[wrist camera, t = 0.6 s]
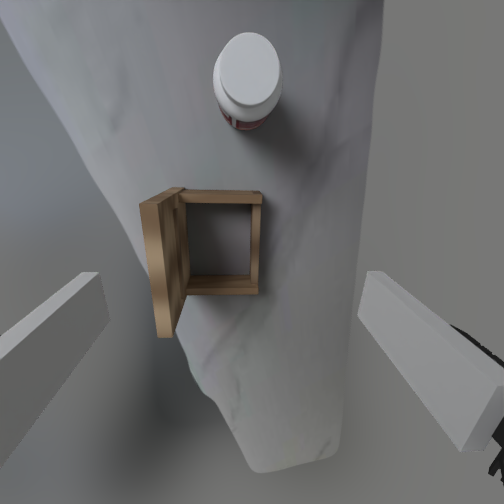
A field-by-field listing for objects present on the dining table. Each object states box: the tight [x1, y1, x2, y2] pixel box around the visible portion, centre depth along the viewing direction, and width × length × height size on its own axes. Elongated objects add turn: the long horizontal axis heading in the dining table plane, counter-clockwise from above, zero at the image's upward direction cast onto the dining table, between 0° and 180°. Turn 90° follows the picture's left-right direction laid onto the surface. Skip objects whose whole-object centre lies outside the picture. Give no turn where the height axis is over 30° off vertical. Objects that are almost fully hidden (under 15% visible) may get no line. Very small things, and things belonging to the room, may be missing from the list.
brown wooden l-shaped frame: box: [139, 187, 262, 338], centre depth 29 cm, size 14×11×12 cm
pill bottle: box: [213, 32, 283, 130], centre depth 24 cm, size 6×6×11 cm
